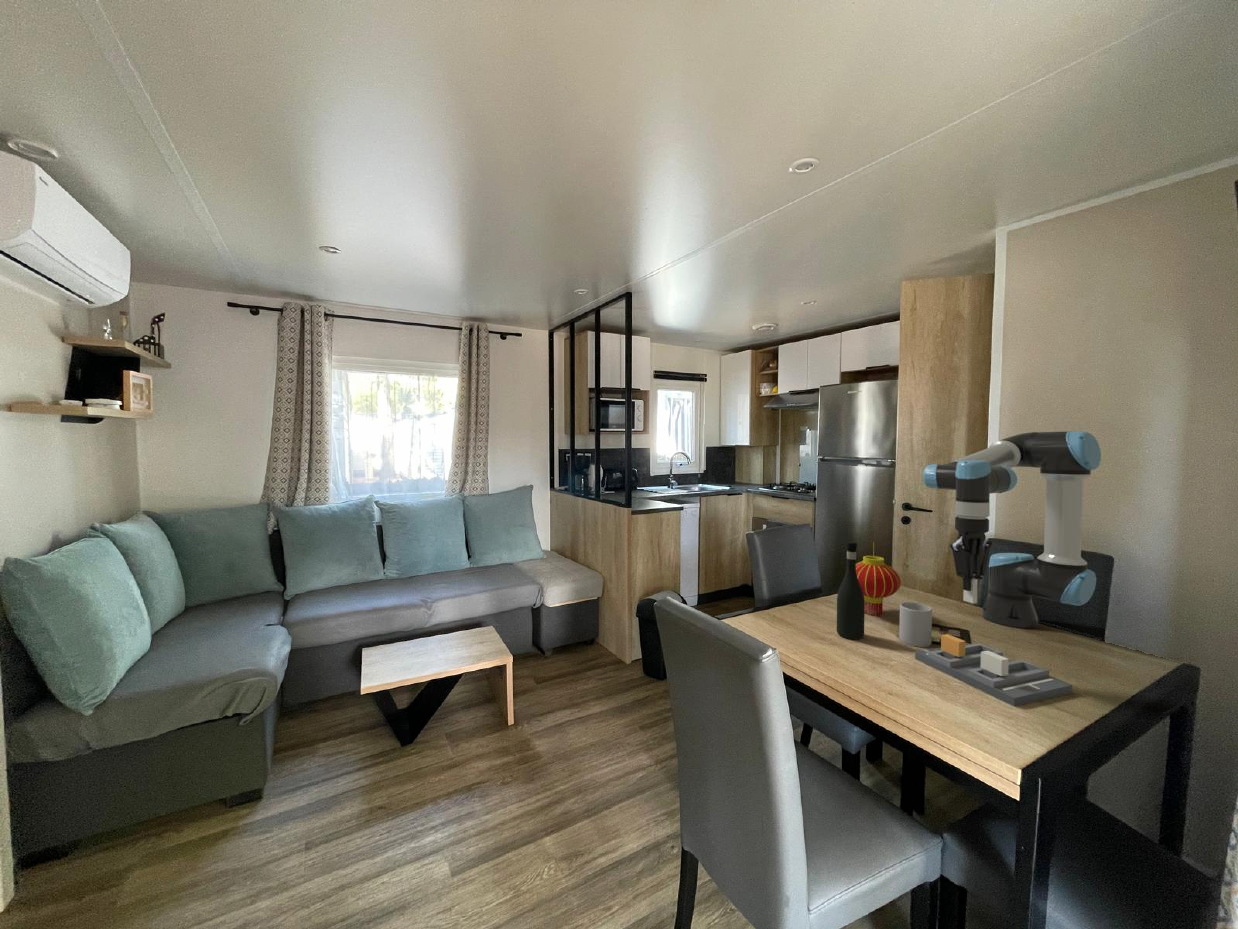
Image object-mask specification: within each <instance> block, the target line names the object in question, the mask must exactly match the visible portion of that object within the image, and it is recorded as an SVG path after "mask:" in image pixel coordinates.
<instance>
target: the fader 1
mask: <svg viewBox="0 0 1238 929" xmlns="http://www.w3.org/2000/svg"><path fill="white" fill-rule="evenodd" d="M965 643H967V642H966V640H964V639H961V638H958V637H957V636H956V637H955V636H953V635H951V634H947V633H946V634H942V635H940V647H941V650H943V657H945V658H947V659H954V658H960V657H963V656H965Z"/></svg>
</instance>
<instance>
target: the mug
mask: <svg viewBox="0 0 1238 929" xmlns="http://www.w3.org/2000/svg"><path fill="white" fill-rule="evenodd" d="M932 625H933V609H932V607H930V606H929V605H926V604H924V603H919V602H912V601H907V602H906V601H905V602H904V601H903V602H901V603H900V604H899V626H898V627H899V630H898V632H899V633H898V638H899V639H898V640H900V641H901V643H903V644H906V645H909V646H912V647H916V648H917V647H918V648H927V647H931V646H932V641H933V640H932V634H933V633H932V629H933V628H932Z"/></svg>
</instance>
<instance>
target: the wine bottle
mask: <svg viewBox="0 0 1238 929" xmlns="http://www.w3.org/2000/svg"><path fill="white" fill-rule="evenodd" d="M845 545H846V571H845V575H844V577H843V580H842V581H841V584H840V586H839V588H838V591H837V596H836V633H837V634H838V635H839V636H840V637H843V638H846V639H849V640H859V639H862V638H863V637H864V636H865V600H864V594H863V591H862V588H861V586H860V583H859V581H858V578H857V574H856V564H857V548H858V543H857V542H855V541H846V543H845Z"/></svg>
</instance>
